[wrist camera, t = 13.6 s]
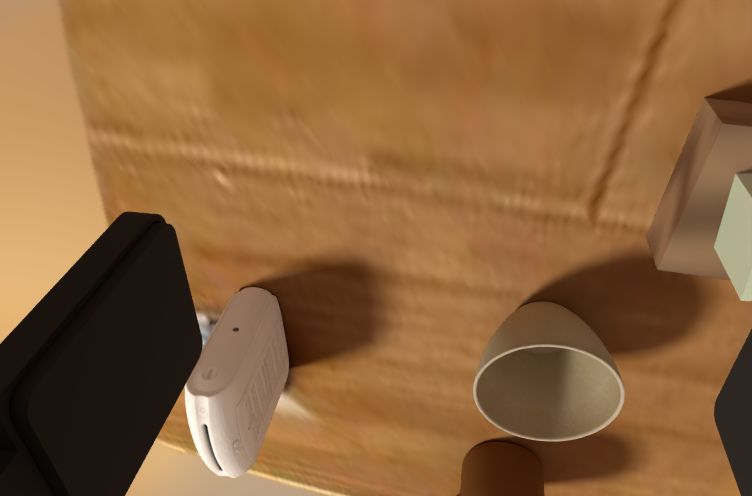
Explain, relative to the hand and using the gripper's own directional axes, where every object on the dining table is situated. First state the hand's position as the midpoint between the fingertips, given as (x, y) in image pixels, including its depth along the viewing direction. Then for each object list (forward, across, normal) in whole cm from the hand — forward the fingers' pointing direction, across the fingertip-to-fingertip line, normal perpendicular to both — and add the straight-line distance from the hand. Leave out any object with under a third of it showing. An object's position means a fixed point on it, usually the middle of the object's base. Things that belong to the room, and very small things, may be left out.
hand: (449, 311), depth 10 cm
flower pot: (+28, -7, +26) cm, 39 cm away
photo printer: (+29, +16, +30) cm, 44 cm away
